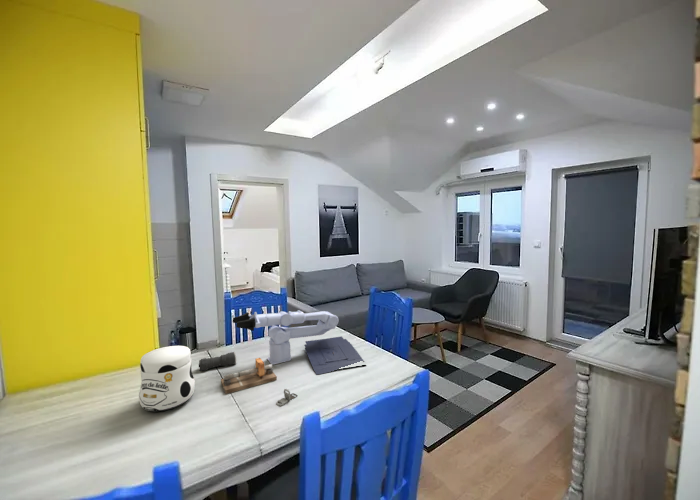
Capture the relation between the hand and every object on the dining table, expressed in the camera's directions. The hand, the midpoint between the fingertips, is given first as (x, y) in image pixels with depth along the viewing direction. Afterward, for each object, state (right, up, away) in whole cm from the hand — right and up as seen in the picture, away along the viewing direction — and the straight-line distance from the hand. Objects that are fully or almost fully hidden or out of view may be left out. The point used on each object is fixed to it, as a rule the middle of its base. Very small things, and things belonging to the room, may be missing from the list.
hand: (234, 322), depth 131 cm
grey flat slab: (+42, -21, +16) cm, 50 cm away
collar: (+13, -20, -6) cm, 24 cm away
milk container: (-15, -24, -22) cm, 36 cm away
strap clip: (+28, -24, -21) cm, 42 cm away
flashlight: (-9, -22, +5) cm, 24 cm away
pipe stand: (+9, -22, -8) cm, 25 cm away
